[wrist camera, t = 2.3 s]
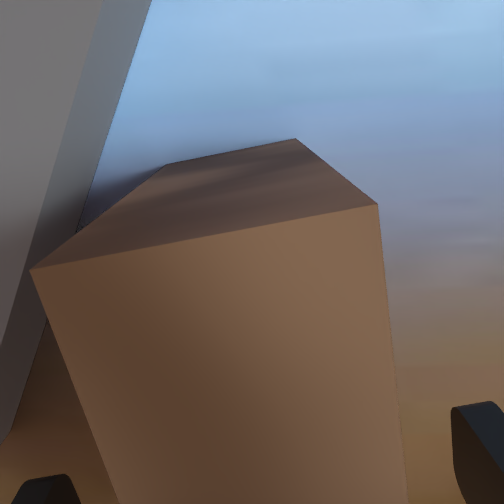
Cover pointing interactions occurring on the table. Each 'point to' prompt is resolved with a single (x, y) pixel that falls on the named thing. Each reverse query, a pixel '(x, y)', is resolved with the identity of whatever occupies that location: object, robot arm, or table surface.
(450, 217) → the table surface
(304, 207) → the wooden framed block
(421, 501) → the table surface
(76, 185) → the picture ledge
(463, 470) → the robot arm
